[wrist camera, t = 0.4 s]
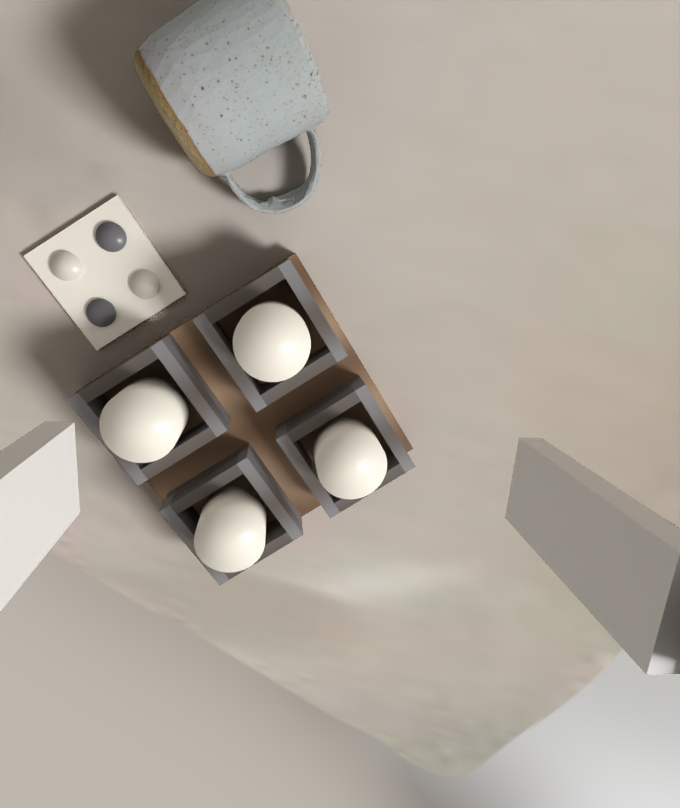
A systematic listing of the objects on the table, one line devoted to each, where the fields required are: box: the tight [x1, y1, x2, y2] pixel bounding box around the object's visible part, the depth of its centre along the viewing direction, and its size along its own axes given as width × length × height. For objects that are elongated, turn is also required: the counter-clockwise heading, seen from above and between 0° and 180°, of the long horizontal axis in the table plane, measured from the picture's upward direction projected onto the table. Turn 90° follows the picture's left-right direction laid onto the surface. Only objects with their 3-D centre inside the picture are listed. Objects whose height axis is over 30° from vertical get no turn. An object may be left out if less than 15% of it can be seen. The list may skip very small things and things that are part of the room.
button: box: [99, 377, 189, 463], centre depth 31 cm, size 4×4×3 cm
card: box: [24, 195, 186, 350], centre depth 32 cm, size 7×7×1 cm
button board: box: [67, 253, 415, 585], centre depth 34 cm, size 16×17×4 cm
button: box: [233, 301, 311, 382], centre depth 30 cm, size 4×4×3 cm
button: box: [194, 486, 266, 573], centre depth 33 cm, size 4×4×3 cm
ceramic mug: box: [134, 0, 328, 214], centre depth 28 cm, size 11×8×8 cm
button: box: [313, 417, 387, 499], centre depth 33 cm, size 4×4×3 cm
